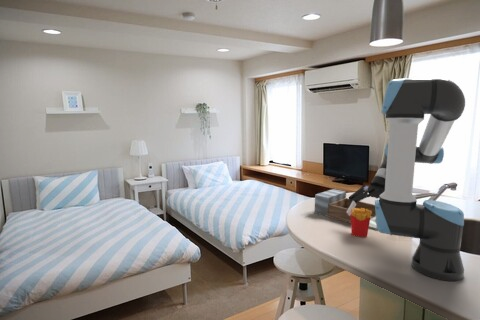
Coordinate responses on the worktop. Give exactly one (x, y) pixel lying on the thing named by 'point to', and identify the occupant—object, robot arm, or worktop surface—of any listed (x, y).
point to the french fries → (360, 222)
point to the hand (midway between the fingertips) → (361, 218)
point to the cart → (340, 206)
